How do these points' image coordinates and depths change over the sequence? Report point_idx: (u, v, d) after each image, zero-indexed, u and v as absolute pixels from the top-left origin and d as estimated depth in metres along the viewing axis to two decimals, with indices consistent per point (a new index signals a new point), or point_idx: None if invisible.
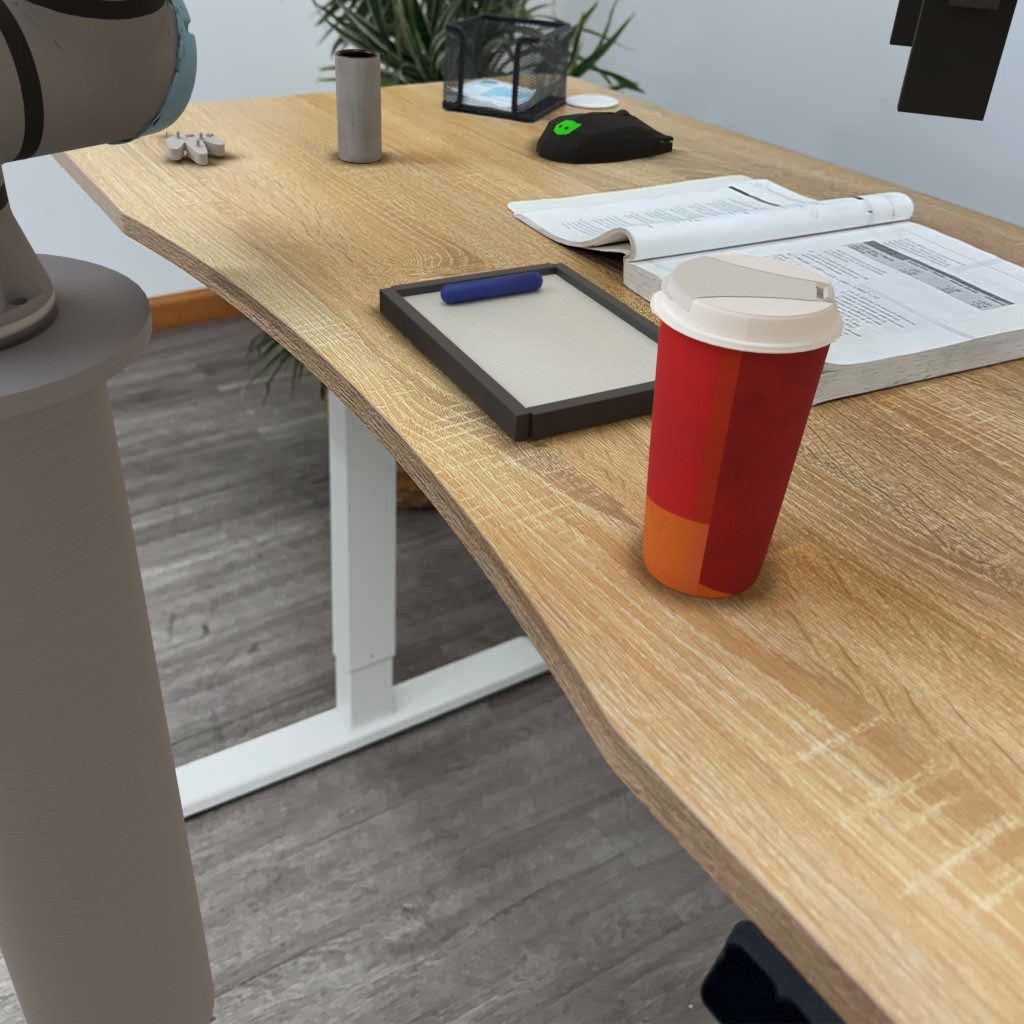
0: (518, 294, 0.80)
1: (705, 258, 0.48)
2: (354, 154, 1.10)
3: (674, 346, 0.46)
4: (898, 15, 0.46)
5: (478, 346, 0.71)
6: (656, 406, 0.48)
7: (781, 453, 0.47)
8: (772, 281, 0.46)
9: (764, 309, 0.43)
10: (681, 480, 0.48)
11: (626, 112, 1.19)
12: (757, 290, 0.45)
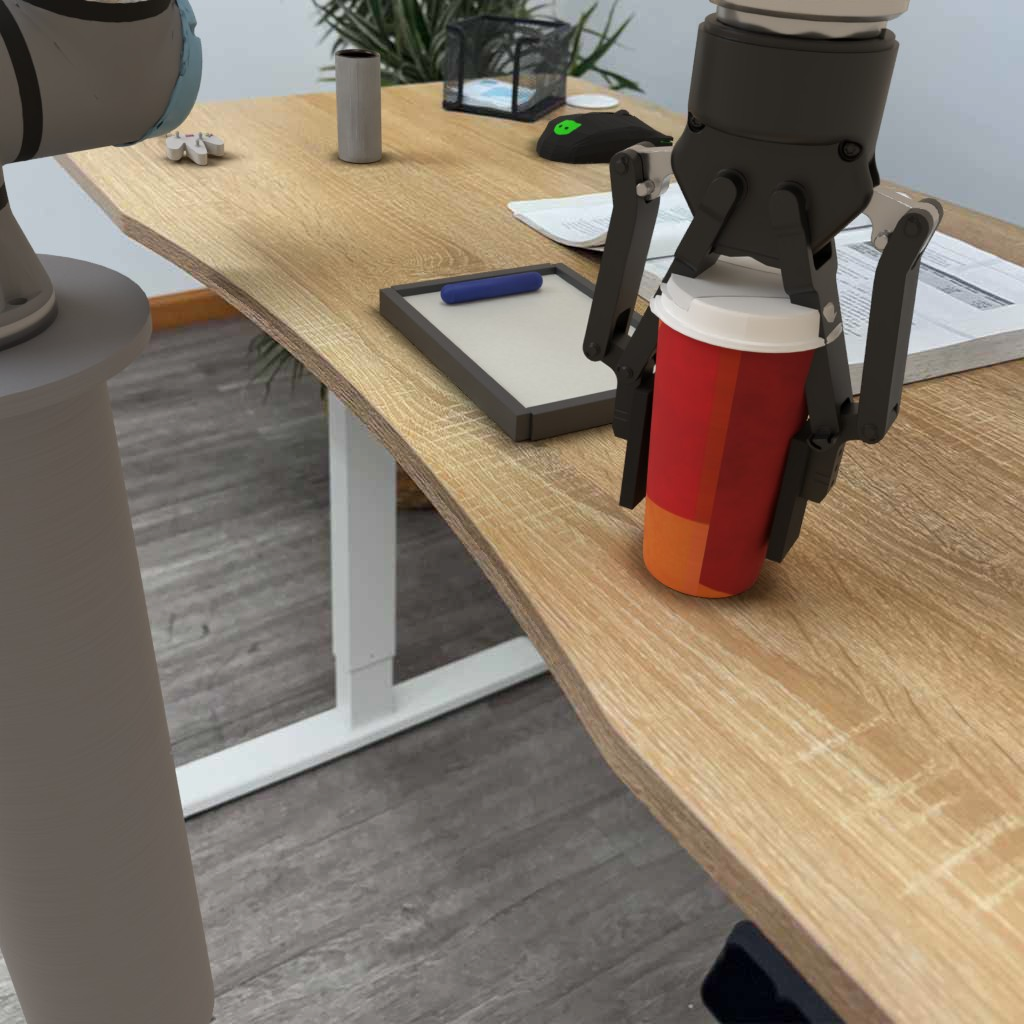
0: (518, 294, 0.80)
1: None
2: (354, 154, 1.10)
3: (674, 346, 0.46)
4: (635, 489, 0.52)
5: (478, 346, 0.71)
6: (656, 406, 0.48)
7: (781, 452, 0.47)
8: (771, 281, 0.46)
9: (763, 309, 0.43)
10: (681, 480, 0.48)
11: (626, 112, 1.19)
12: (756, 290, 0.45)
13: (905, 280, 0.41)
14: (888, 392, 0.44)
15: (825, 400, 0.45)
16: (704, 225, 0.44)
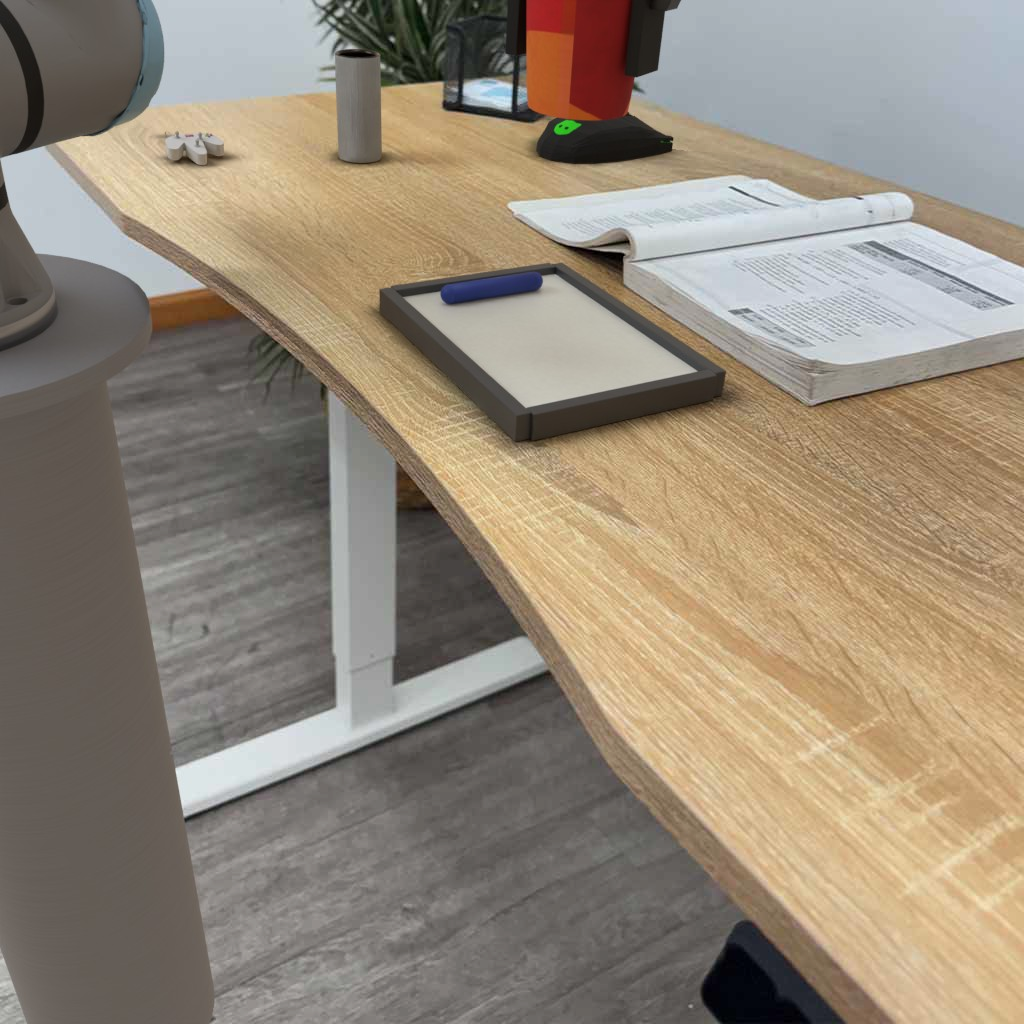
0: (518, 294, 0.80)
1: None
2: (354, 154, 1.10)
3: None
4: (518, 33, 0.61)
5: (478, 346, 0.71)
6: None
7: None
8: None
9: None
10: None
11: None
12: None
13: None
14: None
15: None
16: None
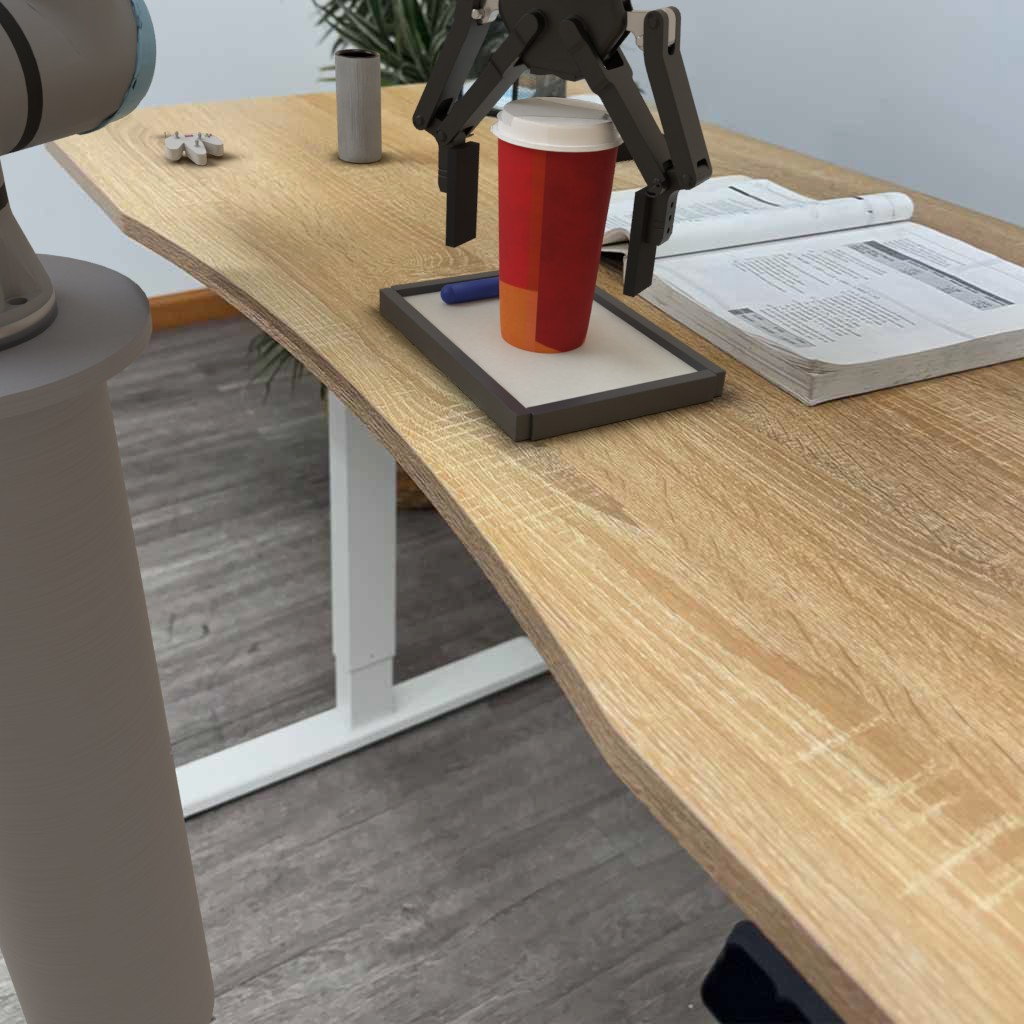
0: None
1: (532, 98, 0.67)
2: (354, 154, 1.10)
3: (504, 154, 0.65)
4: (455, 231, 0.72)
5: (478, 346, 0.71)
6: (499, 205, 0.68)
7: (584, 234, 0.67)
8: (574, 110, 0.65)
9: (560, 122, 0.63)
10: (516, 257, 0.68)
11: None
12: (561, 113, 0.64)
13: (664, 59, 0.59)
14: (686, 144, 0.61)
15: (648, 160, 0.62)
16: (513, 44, 0.63)
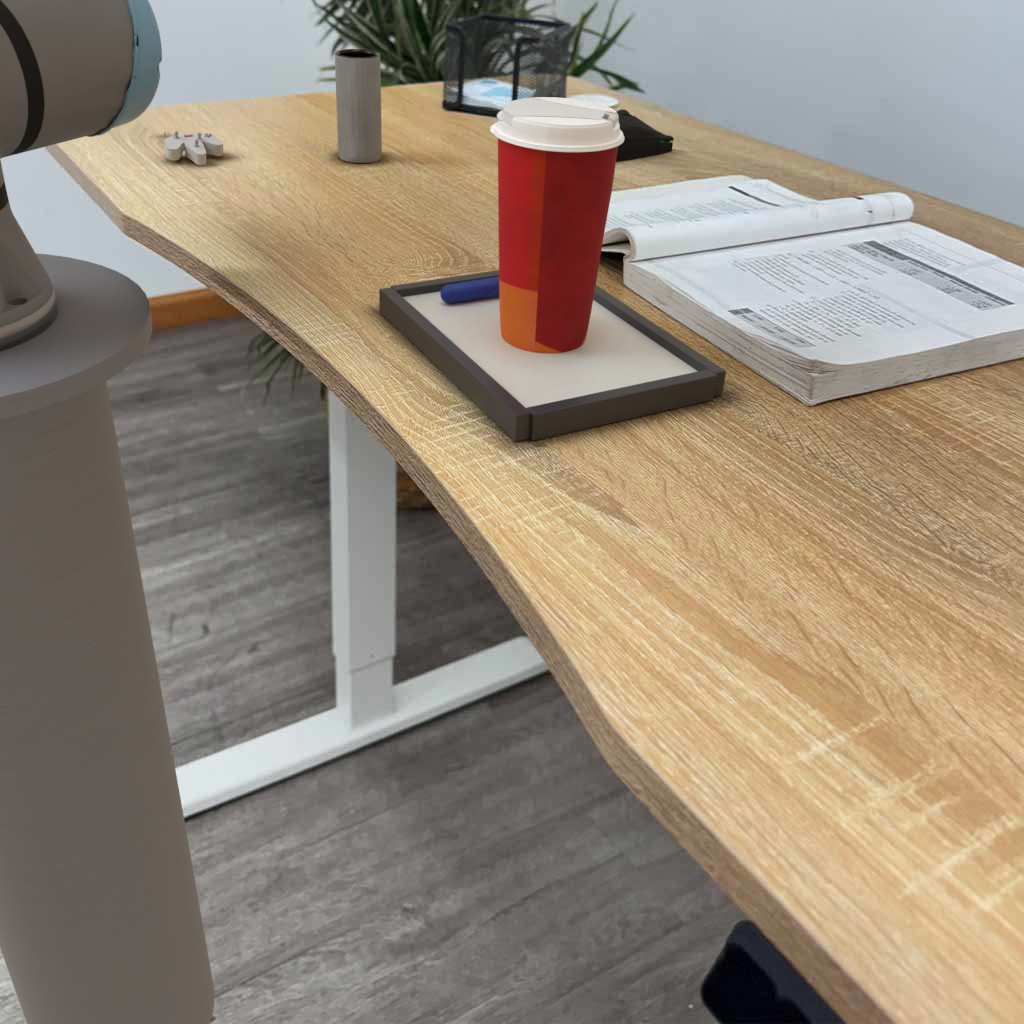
0: None
1: (532, 98, 0.67)
2: (354, 154, 1.10)
3: (504, 154, 0.65)
4: None
5: (478, 346, 0.71)
6: (498, 205, 0.68)
7: (584, 234, 0.67)
8: (574, 110, 0.65)
9: (560, 122, 0.63)
10: (516, 257, 0.68)
11: (626, 112, 1.19)
12: (561, 114, 0.64)
13: None
14: None
15: None
16: None
